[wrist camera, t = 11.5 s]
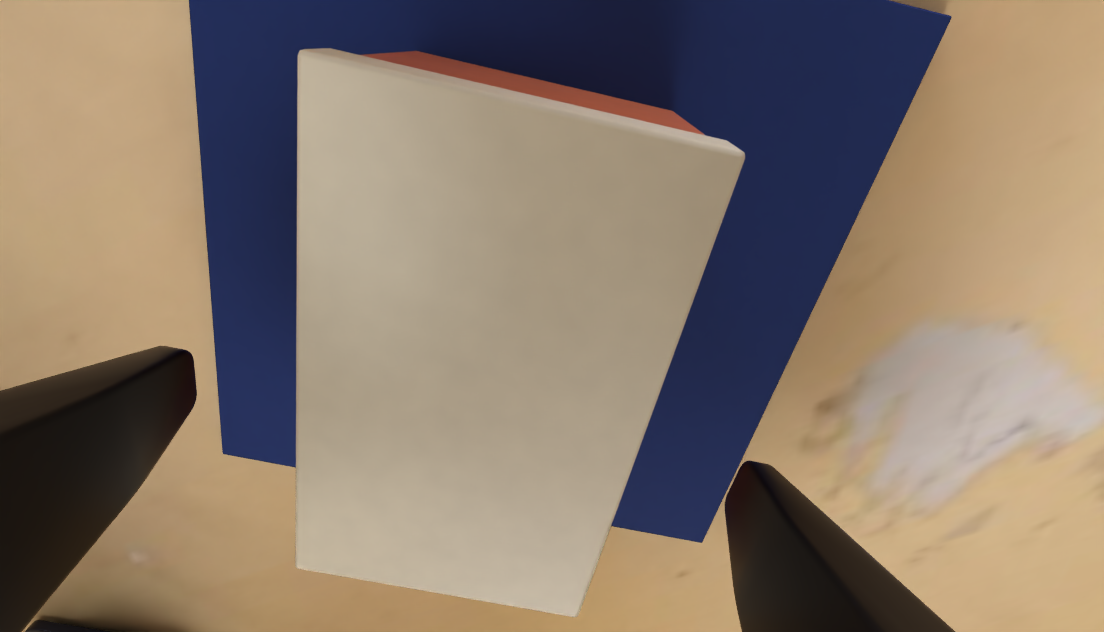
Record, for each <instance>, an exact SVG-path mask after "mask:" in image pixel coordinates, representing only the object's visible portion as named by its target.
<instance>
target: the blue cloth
mask: <svg viewBox="0 0 1104 632" xmlns="http://www.w3.org/2000/svg"><path fill="white" fill-rule="evenodd" d="M189 7H190V21H191V34H192V47H193V61H194V74H195V88H196V101H197V114H198V128H199V141H200V155H201V168H202V181H203V195H204V208H205V222H206V235H207V248H208V262H209V275H210V289H211V302H212V316H213V329H214V342H215V356H216V369H217V383H218V396H219V409H220V423H221V436H222V450H223V454H227V455H232V456H238V457H243V458H248V459H254V460H259V461H264V462H270V463H275V464H281V465H286V466H291V467H296V319H297V88H298V53H299V51H300V50H303V49H320V48H331V49H335V50H340V51H344V52H348V53H353V54H357V55H365V54H379V53H393V52H406V51H419V52H423V53H428V54H432V55H436V56H440V57H445V58H449V59H453V60H458V61H462V62H466V63H470V64H475V65H479V66H483V67H487V68H492V69H496V70H500V71H504V72H509V73H513V74H517V75H522V76H526V77H530V78H534V79H539V80H543V81H547V82H551V83H556V84H560V85H564V86H568V87H573V88H577V89H581V90H586V91H590V92H594V93H598V94H603V95H607V96H611V97H615V98H620V99H624V100H628V101H633V102H637V103H641V104H645V105H650V106H654V107H658V108H662V109H667V110H671V111H673V112H675V113H676V114H677V115H679V116H680V117H681V118H683V119H684V120H686V121H687V122H688V123H690V124H691V125H692V126H694V127H695V128H696V129H698V130H699V131H700V132H702V133H703V134H704V135H706V136H710V137H714V138H718V139H723V140H727V141H728V142H730V143H731V144H733V145H734V146H736V147H737V148H739V149H740V150H742V151H743V152H744V153H745V160H744V163H743V165H742V168H741V171H740V174H739V176H738V179H737V182H736V185H735V187H734V190H733V193H732V196H731V198H730V201H729V204H728V207H727V209H726V212H725V215H724V218H723V220H722V223H721V226H720V228H719V231H718V234H717V237H716V239H715V242H714V245H713V248H712V250H711V253H710V256H709V259H708V261H707V264H706V267H705V270H704V272H703V275H702V278H701V281H700V283H699V286H698V289H697V292H696V294H695V297H694V300H693V303H692V305H691V308H690V311H689V314H688V316H687V319H686V322H685V324H684V327H683V330H682V333H681V335H680V338H679V341H678V344H677V346H676V349H675V352H674V355H673V357H672V360H671V363H670V366H669V368H668V371H667V374H666V377H665V379H664V382H663V385H662V388H661V390H660V393H659V396H658V399H657V401H656V404H655V407H654V410H653V412H652V415H651V418H650V420H649V423H648V426H647V429H646V431H645V434H644V437H643V440H642V442H641V445H640V448H639V451H638V453H637V456H636V459H635V462H634V464H633V467H632V470H631V473H630V475H629V478H628V481H627V484H626V486H625V489H624V492H623V495H622V497H621V500H620V503H619V506H618V508H617V511H616V514H615V516H614V519H613V522H612V525H611V526H614V527H620V528H625V529H630V530H636V531H641V532H647V533H652V534H657V535H663V536H668V537H674V538H679V539H684V540H690V541H695V542H700V543H702V542H703V539H704V537H705V535H706V533H707V531H708V529H709V527H710V525H711V523H712V521H713V518H714V516H715V514H716V512H717V510H718V508H719V506H720V504H721V502H722V499H723V497H724V495H725V493H726V491H727V489H728V487H729V485H730V483H731V481H732V478H733V476H734V474H735V472H736V470H737V468H738V466H739V464H740V462H741V460H742V457H743V455H744V453H745V451H746V449H747V447H748V445H749V443H750V441H751V439H752V436H753V434H754V432H755V430H756V428H757V426H758V424H759V422H760V420H761V417H762V415H763V413H764V411H765V409H766V407H767V405H768V403H769V401H770V399H771V396H772V394H773V392H774V390H775V388H776V386H777V384H778V382H779V380H780V378H781V375H782V373H783V371H784V369H785V367H786V365H787V363H788V361H789V359H790V356H791V354H792V352H793V350H794V348H795V346H796V344H797V342H798V340H799V338H800V335H801V333H802V331H803V329H804V327H805V325H806V323H807V321H808V319H809V317H810V314H811V312H812V310H813V308H814V306H815V304H816V302H817V300H818V298H819V295H820V293H821V291H822V289H823V287H824V285H825V283H826V281H827V279H828V277H829V274H830V272H831V270H832V268H833V266H834V264H835V262H836V260H837V258H838V256H839V253H840V251H841V249H842V247H843V245H844V243H845V241H846V239H847V237H848V234H849V232H850V230H851V228H852V226H853V224H854V222H855V220H856V218H857V216H858V213H859V211H860V209H861V207H862V205H863V203H864V201H865V199H866V197H867V195H868V192H869V190H870V188H871V186H872V184H873V182H874V180H875V178H876V176H877V173H878V171H879V169H880V167H881V165H882V163H883V161H884V159H885V157H886V155H887V152H888V150H889V148H890V146H891V144H892V142H893V140H894V138H895V136H896V134H897V131H898V129H899V127H900V125H901V123H902V121H903V119H904V117H905V115H906V112H907V110H908V108H909V106H910V104H911V102H912V100H913V98H914V96H915V94H916V91H917V89H918V87H919V85H920V83H921V81H922V79H923V77H924V75H925V73H926V70H927V68H928V66H929V64H930V62H931V60H932V58H933V56H934V54H935V51H936V49H937V47H938V45H939V43H940V41H941V39H942V37H943V35H944V33H945V30H946V28H947V26H948V24H949V22H950V20H951V16H949V15H945V14H941V13H937V12H933V11H929V10H925V9H921V8H917V7H913V6H909V5H905V4H901V3H897V2H893V1H889V0H189Z"/></svg>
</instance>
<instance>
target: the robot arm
mask: <svg viewBox="0 0 1104 632" xmlns="http://www.w3.org/2000/svg"><path fill="white" fill-rule="evenodd" d="M196 396H197V390H196V380H195V369H194V360H193V356H192V354H191V353H190V352H188V351H187V350H183V349H178V348H173V347H168V346H158V347H154V348H151V349H147V350H144V351H140V352H137V353H133V354H129V355H126V356H122V357H119V358H115V359H112V360H108V361H105V362H101V363H97V364H94V365H90V366H87V367H83V368H80V369H76V370H73V371H69V372H65V373H62V374H58V375H55V376H51V377H48V378H44V379H41V380H37V381H34V382H30V383H26V384H23V385H19V386H16V387H12V388H9V389H5V390H2V391H0V632H22V630H23V629H24V628H25V627H26V625H27V624H28V623H29V622H30V621H31V619H32V618H33V617H34V616H35V615H36V613H37V612H38V611H39V610H40V609H41V607H42V606H43V605H44V604H45V602H46V601H47V600H48V599H49V598H50V596H51V595H52V594H53V593H54V592H55V590H56V589H57V588H58V587H59V586H60V584H61V583H62V582H63V581H64V580H65V578H66V577H67V576H68V575H69V573H70V572H71V571H72V570H73V569H74V567H75V566H76V565H77V564H78V563H79V561H80V560H81V559H82V558H83V557H84V555H85V554H86V553H87V552H88V550H89V549H90V548H91V547H92V546H93V544H94V543H95V542H96V541H97V540H98V538H99V537H100V536H101V535H102V534H103V532H104V531H105V530H106V529H107V527H108V526H109V525H110V524H111V523H112V521H113V520H114V519H115V518H116V517H117V515H118V514H119V513H120V512H121V511H122V509H123V508H124V507H125V506H126V504H127V503H128V502H129V501H130V499H131V498H132V497H133V496H134V494H135V493H136V492H137V491H138V489H139V488H140V486H141V485H142V484H143V482H144V481H145V479H146V478H147V476H148V475H149V473H150V472H151V470H152V469H153V467H154V466H155V464H156V463H157V461H158V460H159V458H160V457H161V455H162V454H163V452H164V451H165V449H166V448H167V446H168V445H169V443H170V442H171V440H172V439H173V437H174V436H175V434H176V433H177V431H178V430H179V428H180V427H181V425H182V424H183V422H184V421H185V419H186V418H187V416H188V415H189V413H190V412H191V410H192V408H193V406H194V404H195V401H196ZM725 516H726V525H727V534H728V543H729V552H730V561H731V570H732V579H733V587H734V594H735V600H736V605H737V610H738V615H739V620H740V624H741V629H742V632H955V631H954V630H953V629H952V628H951V627H949V626H948V625H947V624H946V623H945V622H944V621H943V620H942V619H941V618H939V617H938V616H937V615H936V614H935V613H934V612H933V611H932V610H931V609H930V608H928V607H927V606H926V605H925V604H924V603H923V602H922V601H921V600H920V599H918V598H917V597H916V596H915V595H914V594H913V593H912V592H911V591H910V590H909V589H907V588H906V587H905V586H904V585H903V584H902V583H901V582H900V581H899V580H897V579H896V578H895V577H894V576H893V575H892V574H891V573H890V572H889V571H887V570H886V569H885V568H884V567H883V566H882V565H881V564H880V563H879V562H878V561H876V560H875V559H874V558H873V557H872V556H871V555H870V554H869V553H868V552H866V551H865V550H864V549H863V548H862V547H861V546H860V545H859V544H858V543H857V542H855V541H854V540H853V539H852V538H851V537H850V536H849V535H848V534H847V533H845V532H844V531H843V530H842V529H841V528H840V527H839V526H838V525H837V524H836V523H834V522H833V521H832V520H831V519H830V518H829V517H828V516H827V515H826V514H824V513H823V512H822V511H821V510H820V509H819V508H818V507H817V506H816V505H814V504H813V503H812V502H811V501H810V500H809V499H808V498H807V497H806V496H805V495H803V494H802V493H801V492H800V491H799V490H798V489H797V488H796V487H795V486H793V485H792V484H791V483H790V482H789V481H788V480H787V479H786V478H785V477H784V476H782V475H781V474H780V473H779V472H778V471H777V470H776V469H775V468H774V467H772V466H771V465H768V464H764V463H759V462H754V461H746V462H744V463H743V464H742V466H741V467H740V469H739V471H738V473H737V476H736V478H735V480H734V482H733V484H732V486H731V488H730V490H729V492H728V494H727V497H726V501H725ZM25 632H110V631H104V630H98V629H92V628H86V627H80V626H74V625H68V624H62V623H56V622H50V621H44V620H37V621H34V622H33V623H32V625H31V626H30V627H29V628H28V629H27V630H26V631H25Z"/></svg>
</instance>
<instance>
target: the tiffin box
mask: <svg viewBox="0 0 1104 632" xmlns="http://www.w3.org/2000/svg"><path fill="white" fill-rule="evenodd" d="M744 160H745V153H744V152H743V151H742V150H740V149H739V148H737V147H736V146H734V145H733V144H731V143H730V142H728V141H727V140H723V139H718V138H714V137H710V136H706V135H704V134H703V133H702V132H700V131H699V130H698V129H696V128H695V127H694V126H692V125H691V124H690V123H688V122H687V121H686V120H684V119H683V118H681V117H680V116H679V115H677V114H676V113H675V112H673V111H671V110H667V109H662V108H658V107H654V106H650V105H645V104H641V103H637V102H633V101H628V100H624V99H620V98H615V97H611V96H607V95H603V94H598V93H594V92H590V91H586V90H581V89H577V88H573V87H568V86H564V85H560V84H556V83H551V82H547V81H543V80H539V79H534V78H530V77H526V76H522V75H517V74H513V73H509V72H504V71H500V70H496V69H492V68H487V67H483V66H479V65H475V64H470V63H466V62H462V61H458V60H453V59H449V58H445V57H440V56H436V55H432V54H428V53H423V52H419V51H406V52H393V53H379V54H365V55H357V54H353V53H348V52H344V51H340V50H335V49H331V48H320V49H303V50H300V51H299V53H298V88H297V319H296V550H295V566H296V567H297V568H298V569H303V570H309V571H314V572H320V573H326V574H331V575H337V576H343V577H348V578H354V579H360V580H365V581H371V582H377V583H382V584H388V585H394V586H399V587H405V588H411V589H416V590H422V591H428V592H434V593H439V594H445V595H451V596H456V597H462V598H468V599H473V600H479V601H485V602H490V603H496V604H502V605H507V606H513V607H519V608H524V609H530V610H536V611H541V612H547V613H553V614H559V615H564V616H570V617H577V616H578V615H579V612H580V610H581V607H582V604H583V602H584V599H585V596H586V593H587V591H588V588H589V585H590V582H591V580H592V577H593V574H594V571H595V569H596V566H597V563H598V560H599V558H600V555H601V552H602V549H603V547H604V544H605V541H606V538H607V536H608V533H609V530H610V527H611V525H612V522H613V519H614V516H615V514H616V511H617V508H618V506H619V503H620V500H621V497H622V495H623V492H624V489H625V486H626V484H627V481H628V478H629V475H630V473H631V470H632V467H633V464H634V462H635V459H636V456H637V453H638V451H639V448H640V445H641V442H642V440H643V437H644V434H645V431H646V429H647V426H648V423H649V420H650V418H651V415H652V412H653V410H654V407H655V404H656V401H657V399H658V396H659V393H660V390H661V388H662V385H663V382H664V379H665V377H666V374H667V371H668V368H669V366H670V363H671V360H672V357H673V355H674V352H675V349H676V346H677V344H678V341H679V338H680V335H681V333H682V330H683V327H684V324H685V322H686V319H687V316H688V314H689V311H690V308H691V305H692V303H693V300H694V297H695V294H696V292H697V289H698V286H699V283H700V281H701V278H702V275H703V272H704V270H705V267H706V264H707V261H708V259H709V256H710V253H711V250H712V248H713V245H714V242H715V239H716V237H717V234H718V231H719V228H720V226H721V223H722V220H723V218H724V215H725V212H726V209H727V207H728V204H729V201H730V198H731V196H732V193H733V190H734V187H735V185H736V182H737V179H738V176H739V174H740V171H741V168H742V165H743V163H744Z"/></svg>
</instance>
